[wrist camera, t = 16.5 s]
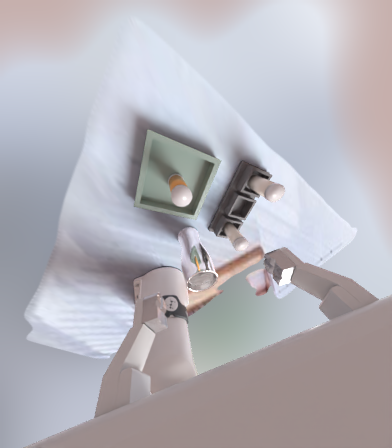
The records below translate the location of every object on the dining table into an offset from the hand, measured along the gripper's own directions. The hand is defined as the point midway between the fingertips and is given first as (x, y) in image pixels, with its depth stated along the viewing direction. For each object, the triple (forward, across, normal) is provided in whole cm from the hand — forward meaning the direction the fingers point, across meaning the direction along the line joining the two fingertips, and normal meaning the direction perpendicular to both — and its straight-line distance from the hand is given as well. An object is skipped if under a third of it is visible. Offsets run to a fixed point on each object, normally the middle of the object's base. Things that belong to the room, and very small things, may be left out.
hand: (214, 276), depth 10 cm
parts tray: (+25, 0, 0) cm, 25 cm away
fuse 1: (+24, -10, +16) cm, 30 cm away
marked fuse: (+24, 0, 0) cm, 24 cm away
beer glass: (+25, +1, +16) cm, 30 cm away
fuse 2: (+24, -17, +5) cm, 30 cm away
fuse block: (+25, -14, +10) cm, 30 cm away
